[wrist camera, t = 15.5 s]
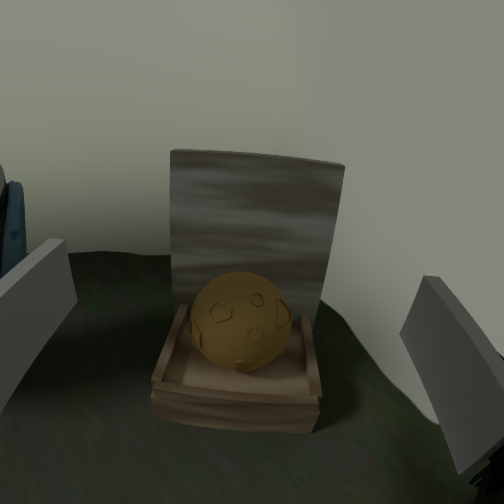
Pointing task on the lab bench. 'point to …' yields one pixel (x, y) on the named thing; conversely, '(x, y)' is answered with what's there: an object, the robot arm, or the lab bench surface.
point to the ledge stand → (254, 261)
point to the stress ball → (240, 321)
